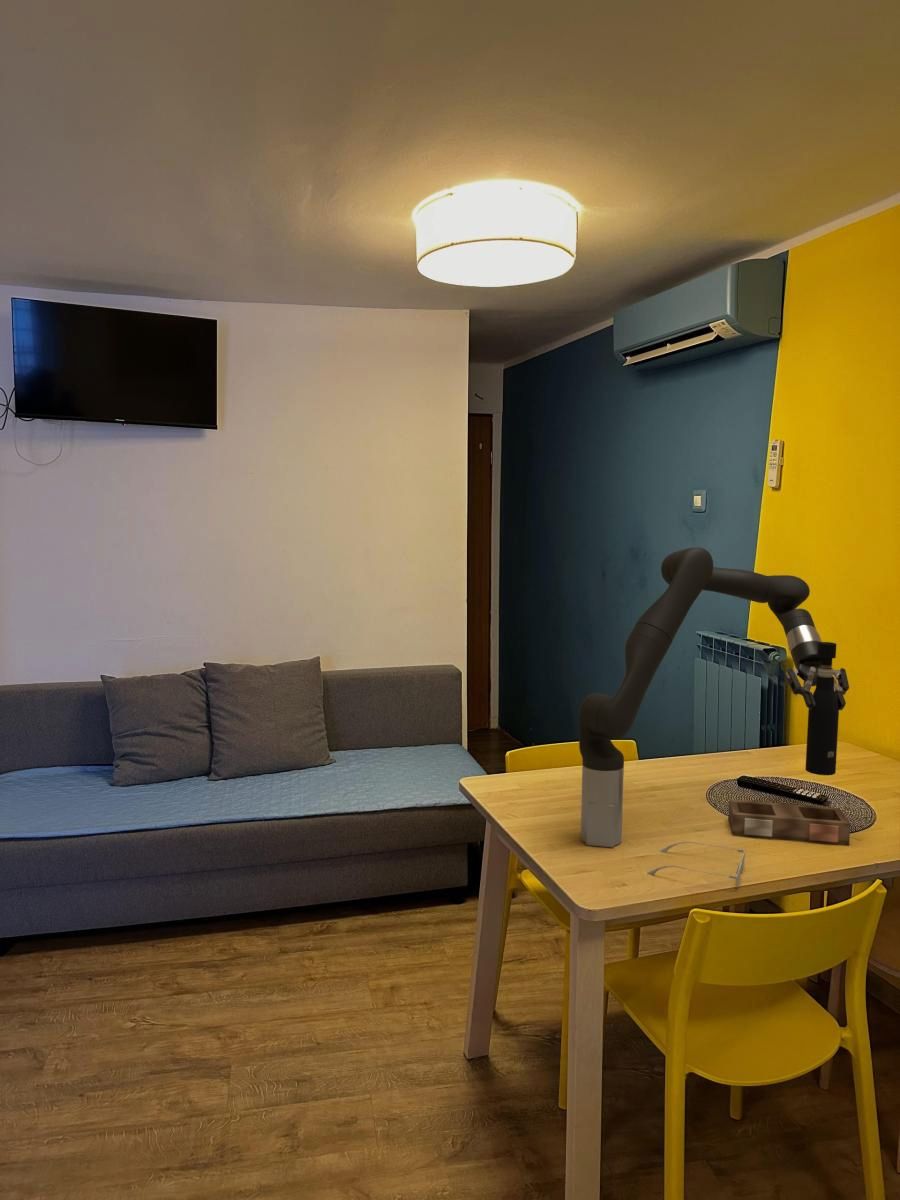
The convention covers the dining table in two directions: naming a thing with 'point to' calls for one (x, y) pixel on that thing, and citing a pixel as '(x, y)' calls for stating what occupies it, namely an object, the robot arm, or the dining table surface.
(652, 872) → the eyeglasses
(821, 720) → the black insulated water bottle
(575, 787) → the dining table surface
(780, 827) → the socket board
